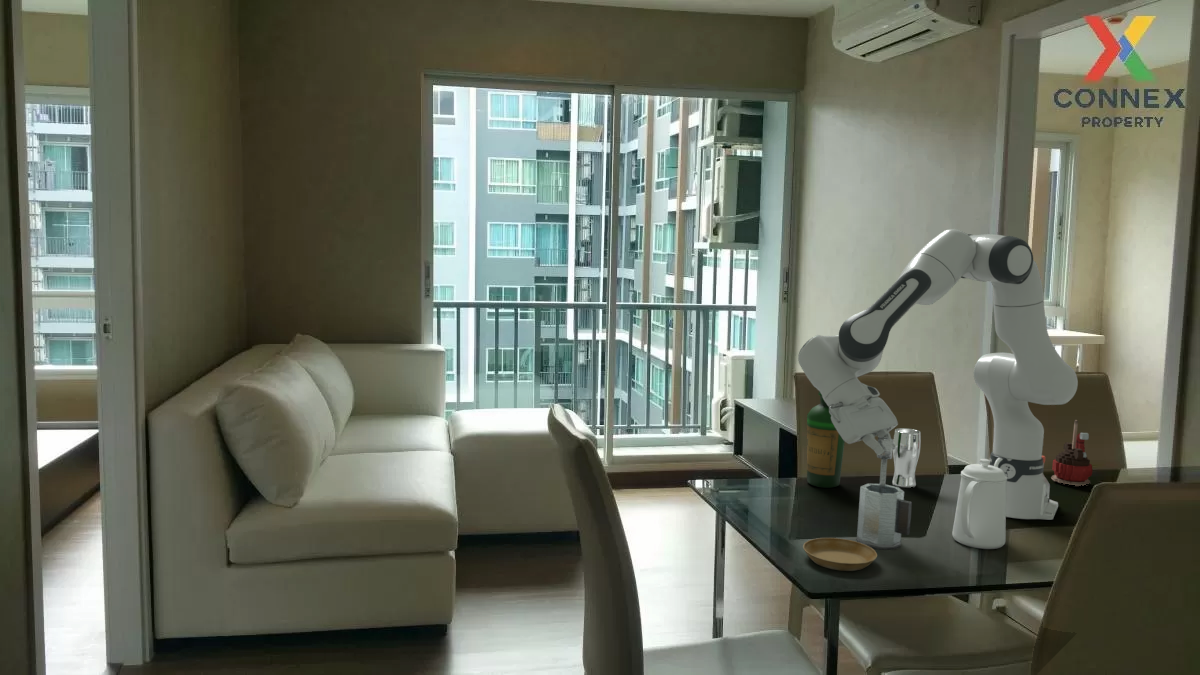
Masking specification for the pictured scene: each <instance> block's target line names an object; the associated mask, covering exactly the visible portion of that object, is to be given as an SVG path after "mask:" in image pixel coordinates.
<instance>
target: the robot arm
mask: <svg viewBox="0 0 1200 675" xmlns="http://www.w3.org/2000/svg"><path fill="white" fill-rule="evenodd" d="M960 279H967V280H968V279H969V280H972V281H978V282H982V283H983V282H990V283H991V285H992V303H993V316H994V329H995V333H996V335H997V336H996V337H997V338H999V340H1001V341H1002V342H1003V343H1004V344H1005V345H1006V346H1007V347H1008V348H1009V349H1010V350H1011V351H1010V352H1012V353H1010V352H993V353H992V352H991V353H986V354H983V355H981V356H980V357H979V358H978V360H977V361H976V363H975V365H974V367H973V380H974V383H975V384H976V386H977V387H978V388H979V390H981V392H983V393H982V394H984V396H985V397H986V399H987V402H988V404H989V406H990V409H991V413H992V417H993V440H992V442H993V444H992V451H991V452H990V456H989V460H990V463H989V465H991V466H994V464H995V461H996V460H997V459H998V458H1002V459H1003V460H1002V461H1000V463H999V465H998V468H1000V469H1001V470H1003V472H1004V474H1005V476H1006V477H1007V481H1006V518H1012V519H1020V520H1045V521H1046V520H1049V521H1050V520H1054V517H1055V515H1056V513H1057V511H1058V508H1059V502H1058V501H1055V500H1052V499H1050V488H1051V484H1050V483H1049V481H1048V479H1047V478H1046V477H1045V475H1044V471H1045V470H1044V467H1045V462H1046V456H1045V455H1043V446H1044V438H1045V437H1044V436H1045V434H1044V433H1045V428H1044V426H1043V424H1042V422H1041V421H1040V420H1039V419H1038V418H1037V417H1036V416H1034V414H1033V412H1032V411H1031V409H1030V407H1029V403H1033V404H1036V405H1037V404H1039V405H1043V406H1050V405H1051V406H1055V405H1057V406H1059V405H1061V406H1062V405H1065V404H1067V403H1068V402H1070V400H1073V398H1074V396H1075V395H1076V392H1077V390H1078V385H1079V382H1078V376H1077V372H1076V371H1075V369H1074V368H1073V367H1072V366H1070V365H1069V364H1068V363H1067V362H1066V361H1065V360H1064V359H1063V358H1062V357H1061V355H1060V354H1059V353H1058V351H1057V350H1056V349H1055V347H1054V344H1053V343H1052V340H1051V338H1050V336H1049V332H1048V329H1047V328H1048V327H1047V321H1046V312H1045V297H1044V289H1043V287H1044V286H1043V282H1042V279H1041V274H1040V270H1039V267H1038V264H1037V262H1036V261H1035V260H1034V255H1033V250H1032V249H1031V247H1030V245H1029V244H1028V242H1027V241H1026V240H1024V239H1022V238H1019V237H1016V236H1014V235H1013V236H1012V235H1001V234H996V233H993V234H992V233H984V234H970V233H969V234H968V233H966V232H964V231H963V230H960V229H958V228H957V229H956V228H948V229H945V230H943V231H942V232H940V233H939V234H937V235H935V236H934V237H933V238H932V239H931V240H929V241H928V242H927V243H926V244H925V245H924V246H923V247H921V248H920V250H919V251H918V252H917V253H915V255H914V256H913V257H912V258H911V259H910V260H909V261H908V263H907V264H906V265H905V267H904V268H903V270H902V271H901V273H900V274H899V276H898V278H897V279H896V280H895V282H893V284H892V285H891V286H890V287H889V288H888V289H887V290H886V291H885V292H884V293H883V294H882V295H881V296H880V297H879V298H878V299H877V300H876V301H874V303H872V305H871V306H869V307H867V308H866V309H864V310H862V311H860V312H857V313H855V314H853V315H851V316H850V317H847V319H845V321H843V323H842V324H841V325H840V328H839V332H838V334H836V335H821V334H817V335H815V336H812V337H811V338H810V339H808V340H807V341H806V342H805V343H804V344H803V346H802V347H801V348H800V350H799V351H798V356H797V361H798V364H799V366H800V368H801V370H802V371H803V374H805V377H806V378H807V380H809V382H810V384H811V385H812V386H813V387H814V388H816V390H817V391H818V392H819V391H820V393H821V394H822V397H823V399H824V401H825V402H826V404H827V405H828V406H829V413H830V415H831V421H832V423H833V425H834V426H835V428H836V430H837V431H838V433H839V434H840V436H841V437H842V439H843V440H844V441H845V443H846V444H847V445H851V444H854V443H856V442H857V443H858V442H860V441H861V442H862V441H863V442H864V443H863V444H865V445H866V446H867V447H869V449H870V448H871V450H873V451H874V453H875V454H876V456H877V455H882V454H883V453H885V452H886V448H885V447H884V446H883V444H880V443H879V442H878V438H890V439H892V437H891V433H890V431H892V430H893V429H894V428H896V427H897V426H898V425H899V422H898V420H897V417H896V416H895V414H894V413H893V411H892V409H891V408H890V407H889V406H888V404H887V403H886V402H885V401H884V400H883V398H881V397H879V396H880V395H881V393H880V392H879V390H878V389H877V388H876V387H873V386H870V385H868V384H865V383H863V382H861V381H860V380H859V377H862V376H864V375H867V374H869V373H871V372H872V371H874V370H875V369H876V368H877V367H878V366H879V364H880V362H881V360H882V357H883V353H884V350H885V347H886V345H887V343H888V339H889V335H890V332H891V330H892V328H893V327H895V325H896V324H897V323H898V322H899V321H900V319H902V318H903V317H904V316H906V314H907V312H909V311H910V310H911V308H913V307H914V306H915V305H921V306H930V305H933V304H935V303H936V302H938V301H939V300H940V299H942V298H943V297H944V296H945V295H947V294H948V293H949V292H950V290H951V289H952V288H953V287H954V286H955V285H956V284H957V283H958V282H959V280H960ZM876 437H877V439H876ZM895 448H896V446H895V445H894V443H893V450H894V449H895Z"/></svg>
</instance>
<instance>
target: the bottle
mask: <svg viewBox="0 0 1200 675" xmlns="http://www.w3.org/2000/svg"><path fill="white" fill-rule="evenodd" d="M817 395H818V396H819V397H820V399H819V400H820V401H819V402H820V403H819V404H817V405H814V406H813V407H812V408H811V409H810V410H809V412H808V413H807V415H806V482H807V483H808V484H809V485H811V486H814V487H817V488H821V489H832V488H836V487H838V486H840V482H841V476H842V474H841V473H842V465H843V457H844V451H845V450H844V448H845V443H846V442H845V441H844V440H843V439H842V437H841V436H840V434H839V433H838V431H837V430H836V428H835V426H834V425H833V423H832V421H831V415H830V413H829V406H828V405H827V404H826V402H825V401H824V399H823V397H822V394H821V393H820V391H819V390H818V393H817Z"/></svg>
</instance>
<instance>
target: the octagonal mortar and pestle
mask: <svg viewBox="0 0 1200 675" xmlns="http://www.w3.org/2000/svg"><path fill="white" fill-rule="evenodd" d="M879 486H880V483H866V484H864V485H860V489H859V503H858V517H857V520H858V521H857V530H856V531H857V532H856V533H857V534H856V542H857V541H858V542H859V543H862V544H865V545H867V546H869V547H871V548H872V549H874V550H875V549H876V550H881V551H889V550H890V551H893V550H896V549H899V548H901V543H902V535H904V536H907V535H910V534H911V532H910V531H911V519H912V505H913V503H912V501H909V500H905V498H904V497H905V491H904V490H903V489H901V487H898V486H895V485H889V484H886V483H885V493H879Z"/></svg>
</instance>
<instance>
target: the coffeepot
mask: <svg viewBox="0 0 1200 675" xmlns="http://www.w3.org/2000/svg"><path fill="white" fill-rule="evenodd" d="M1002 460H1003V459H1002V458H998V459H997V460H996V461H995V464H994V466H991V465H990V459H988V458H980V459H979V462H980V463H971V464H968V465H966V466H965V467H964V469H962V470H961V471H960V476H961V477H960V483H959V489H958V494H957V502H956V509H955V514H954V519H953V521H954V522H953V526H952V533H951V534H952V537H953V539H954V540H955V541H956V542H958V544H959V543H960V544H961V545H963V546H967V547H970V548H975V549H983V550H995V549H1000V548H1002V547H1003V546H1004V545H1005V544H1006V534H1007V533H1006V528H1007V527H1006V525H1007V523H1006V518H1007V517H1006V481H1007V477H1006V476H1005V474H1004V472H1003V470H1001V469H1000V468H998V465H999V463H1000V461H1002Z"/></svg>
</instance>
